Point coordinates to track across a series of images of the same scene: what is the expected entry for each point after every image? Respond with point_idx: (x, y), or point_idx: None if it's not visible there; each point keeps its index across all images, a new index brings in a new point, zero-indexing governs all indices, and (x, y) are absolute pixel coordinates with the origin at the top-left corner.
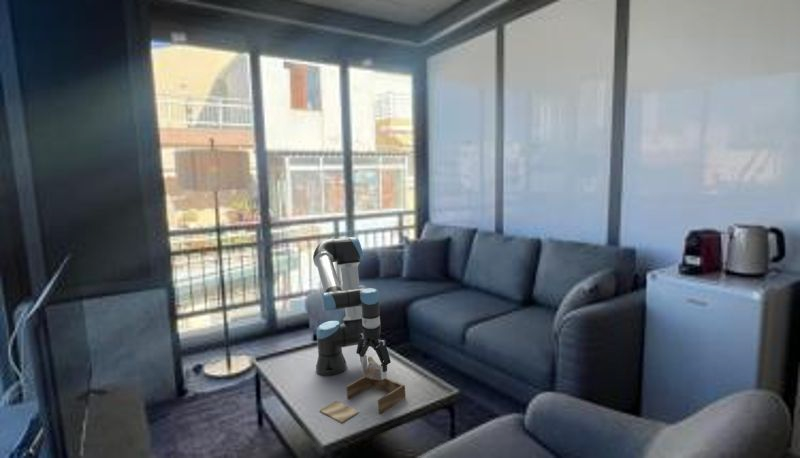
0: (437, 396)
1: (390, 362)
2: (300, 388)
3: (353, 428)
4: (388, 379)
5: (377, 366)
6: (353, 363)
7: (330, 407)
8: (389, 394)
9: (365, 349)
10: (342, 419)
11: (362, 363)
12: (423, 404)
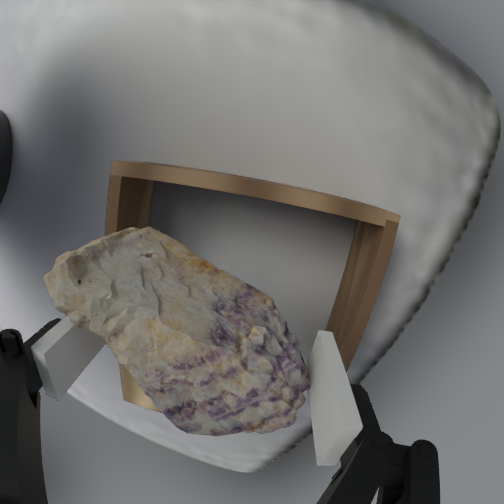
0: (473, 143)
1: (431, 447)
2: (5, 307)
3: (277, 431)
4: (266, 191)
5: (251, 400)
6: (15, 84)
7: (136, 384)
8: (359, 340)
9: (36, 468)
10: None
11: (86, 366)
12: (453, 221)
